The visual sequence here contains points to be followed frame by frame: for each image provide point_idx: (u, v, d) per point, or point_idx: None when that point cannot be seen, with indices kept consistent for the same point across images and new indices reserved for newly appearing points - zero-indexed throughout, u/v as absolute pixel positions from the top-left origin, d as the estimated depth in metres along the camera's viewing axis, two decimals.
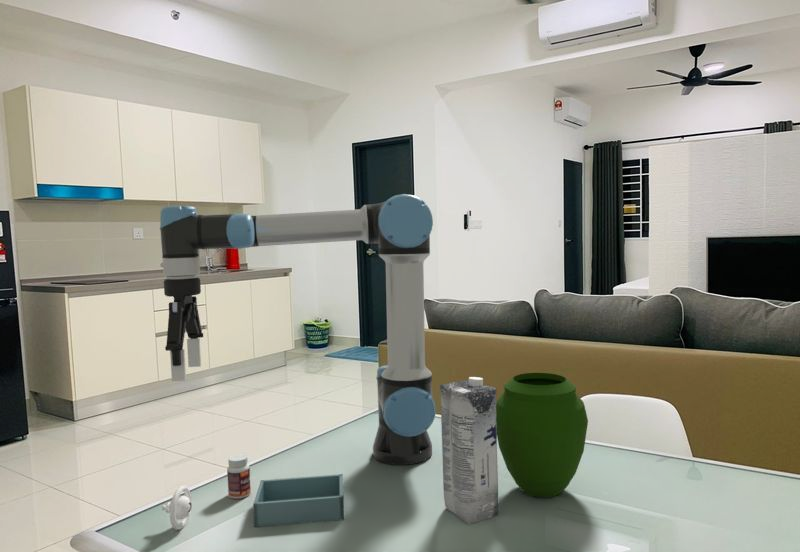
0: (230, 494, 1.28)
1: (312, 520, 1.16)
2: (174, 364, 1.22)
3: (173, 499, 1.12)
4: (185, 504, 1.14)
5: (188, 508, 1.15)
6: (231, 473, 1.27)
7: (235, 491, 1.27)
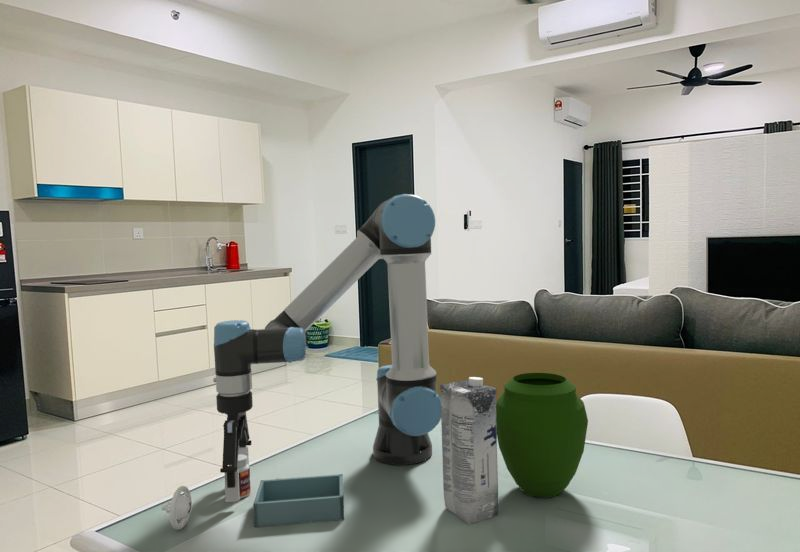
0: None
1: (312, 520, 1.16)
2: (229, 486, 1.21)
3: (173, 499, 1.12)
4: (185, 504, 1.14)
5: (188, 508, 1.15)
6: None
7: None
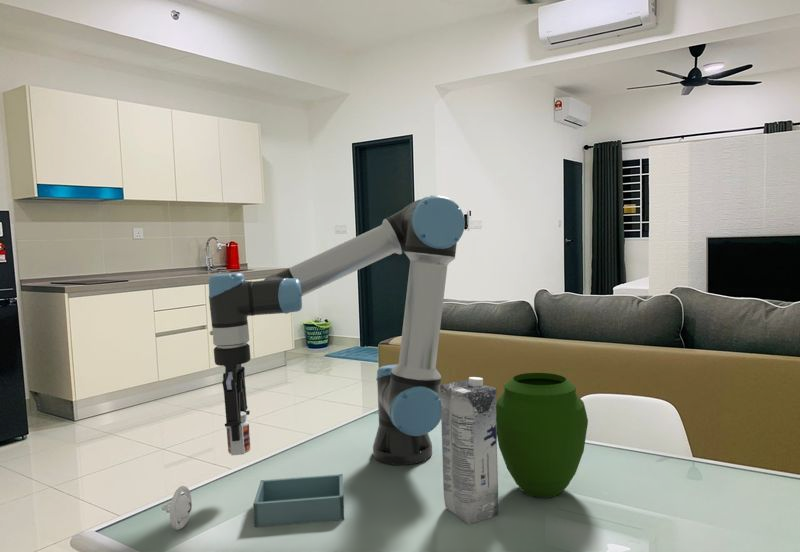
0: (230, 450, 1.27)
1: (312, 520, 1.16)
2: (233, 439, 1.24)
3: (173, 499, 1.12)
4: (185, 504, 1.14)
5: (188, 508, 1.15)
6: None
7: None
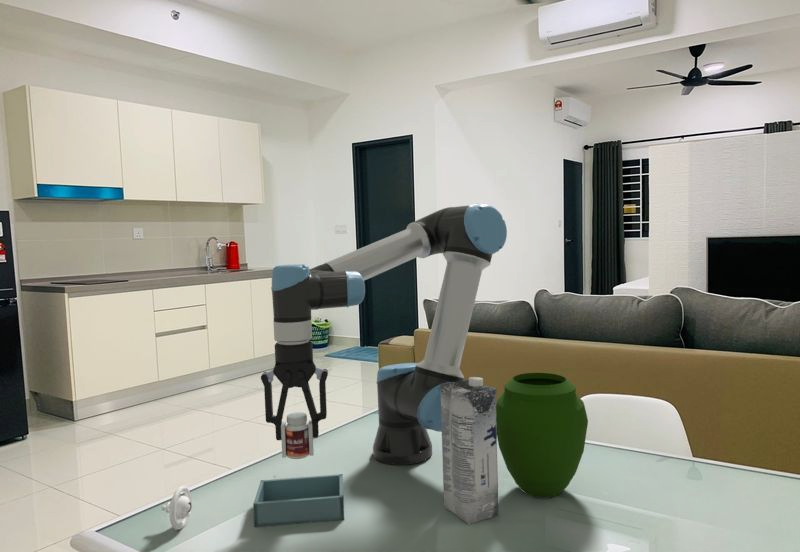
0: None
1: (312, 520, 1.16)
2: None
3: (173, 499, 1.12)
4: (185, 504, 1.14)
5: (188, 508, 1.15)
6: None
7: None
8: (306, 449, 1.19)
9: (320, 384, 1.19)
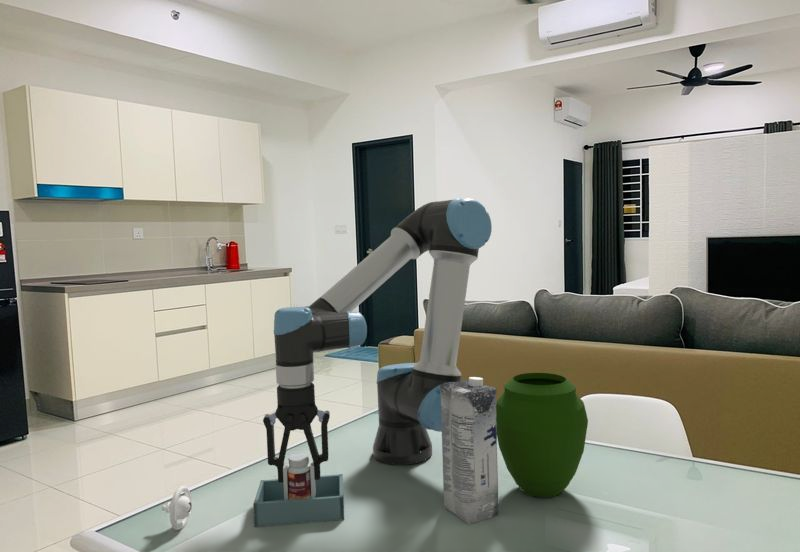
0: None
1: (312, 520, 1.16)
2: None
3: (173, 499, 1.12)
4: (185, 504, 1.14)
5: (188, 508, 1.15)
6: None
7: None
8: (308, 491, 1.19)
9: (322, 426, 1.19)
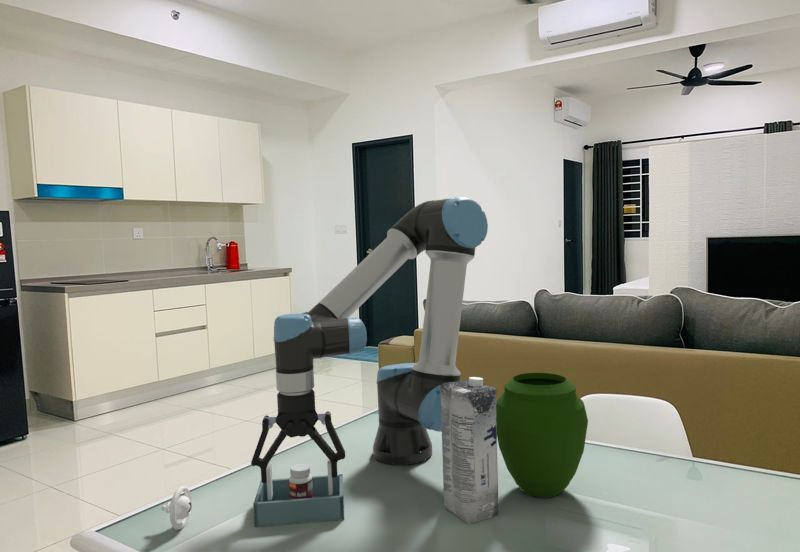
0: None
1: (312, 520, 1.16)
2: None
3: (173, 499, 1.12)
4: (185, 504, 1.14)
5: (188, 508, 1.15)
6: None
7: None
8: None
9: (327, 428, 1.19)
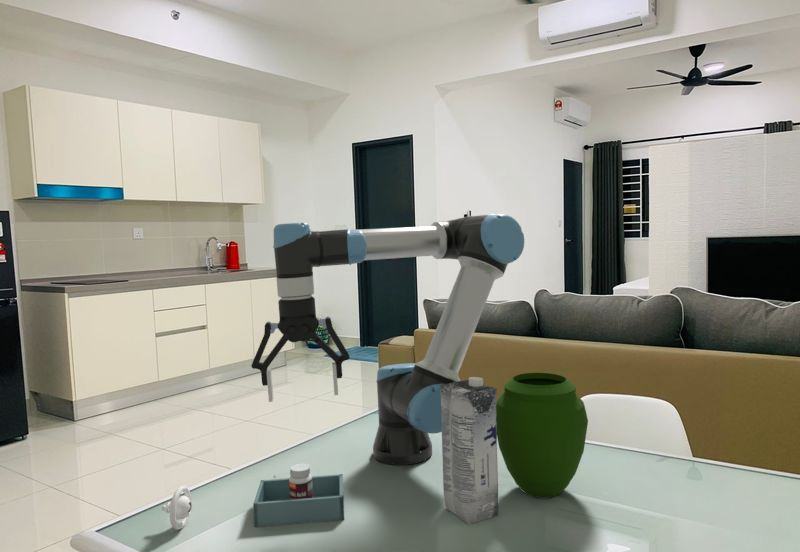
0: None
1: (312, 520, 1.16)
2: None
3: (173, 499, 1.12)
4: (185, 504, 1.14)
5: (188, 508, 1.15)
6: None
7: None
8: None
9: (329, 331, 1.23)
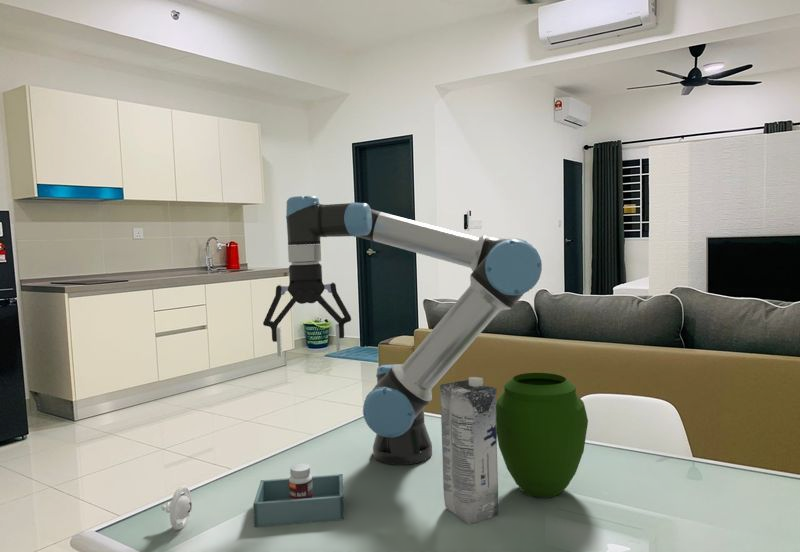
0: None
1: (312, 520, 1.16)
2: None
3: (173, 499, 1.12)
4: (185, 504, 1.14)
5: (188, 508, 1.15)
6: None
7: None
8: None
9: (333, 295, 1.37)
